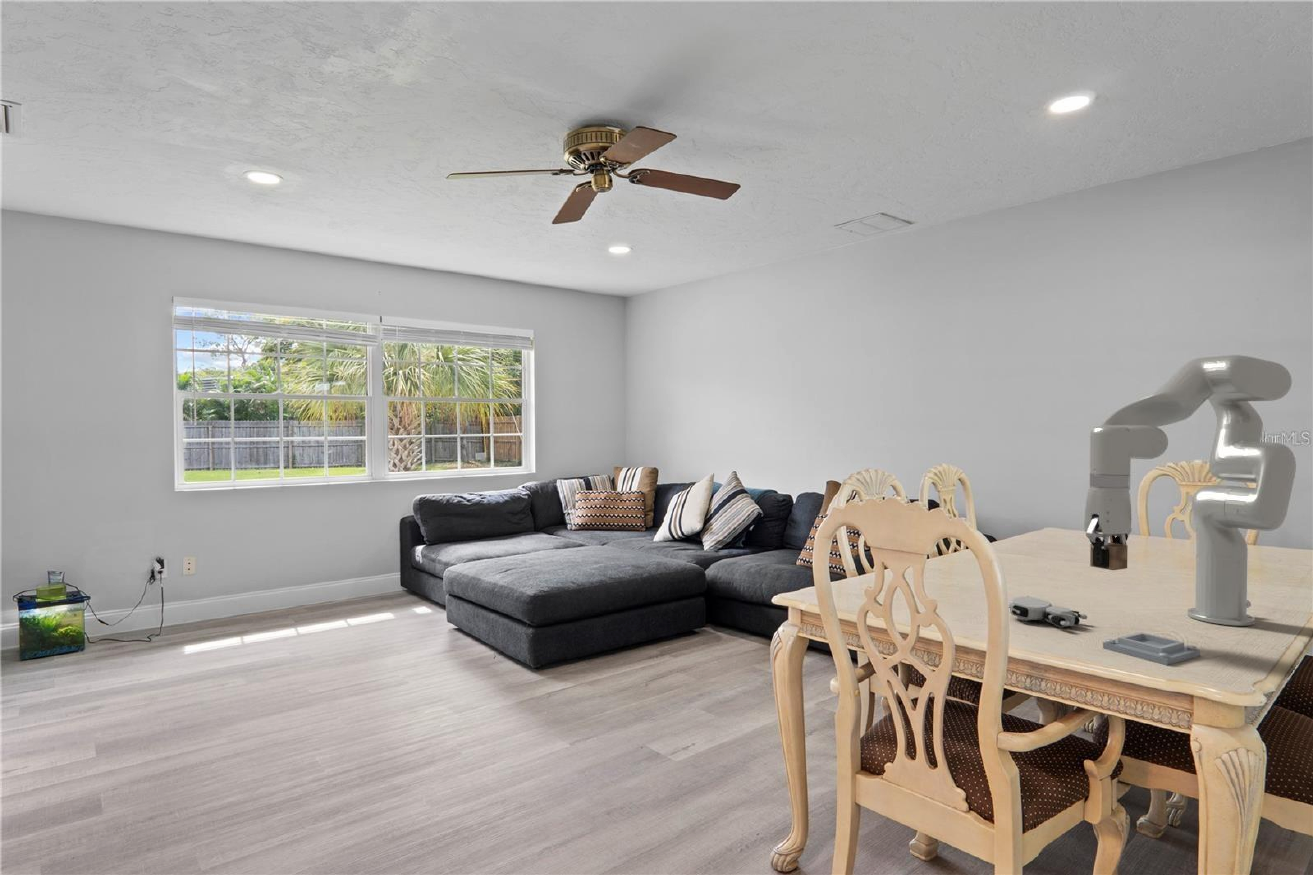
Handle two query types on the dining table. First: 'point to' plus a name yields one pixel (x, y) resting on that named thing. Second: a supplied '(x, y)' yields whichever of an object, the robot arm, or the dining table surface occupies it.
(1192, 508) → the robot arm
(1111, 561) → the walnut cube
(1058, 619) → the robot toy
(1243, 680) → the dining table surface
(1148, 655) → the base plate
